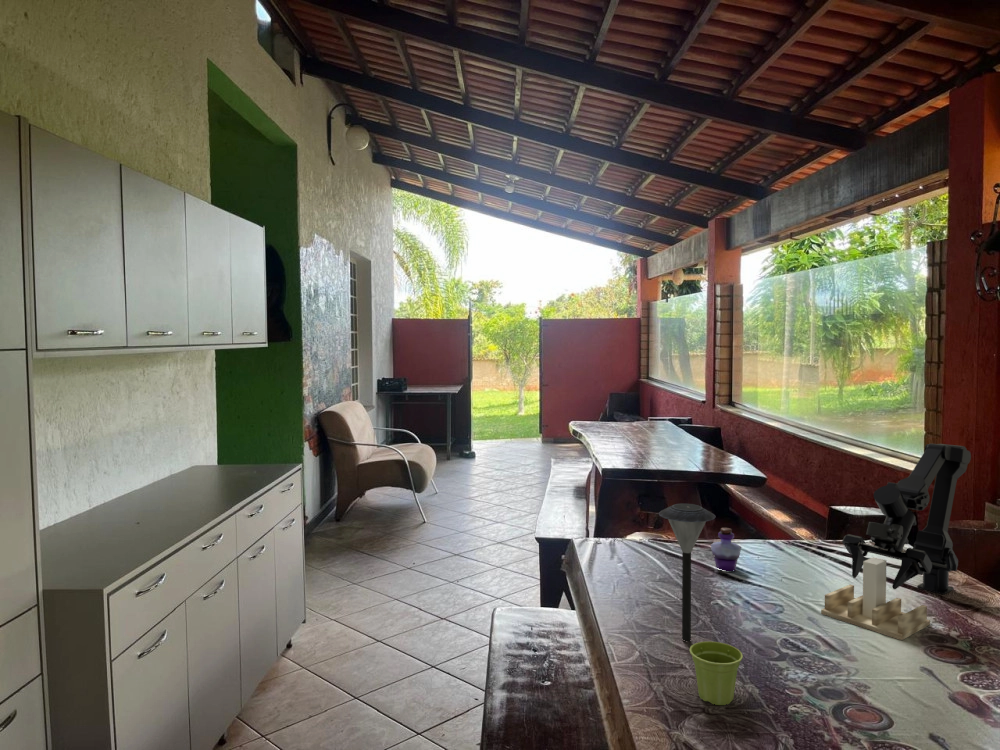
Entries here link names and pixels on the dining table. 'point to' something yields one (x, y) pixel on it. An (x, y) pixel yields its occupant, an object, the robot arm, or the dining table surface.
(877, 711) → the dining table surface
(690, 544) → the solar garden light
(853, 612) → the ridged tan cradle
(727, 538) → the potion bottle
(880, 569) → the cream rectangular block
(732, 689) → the plant pot
